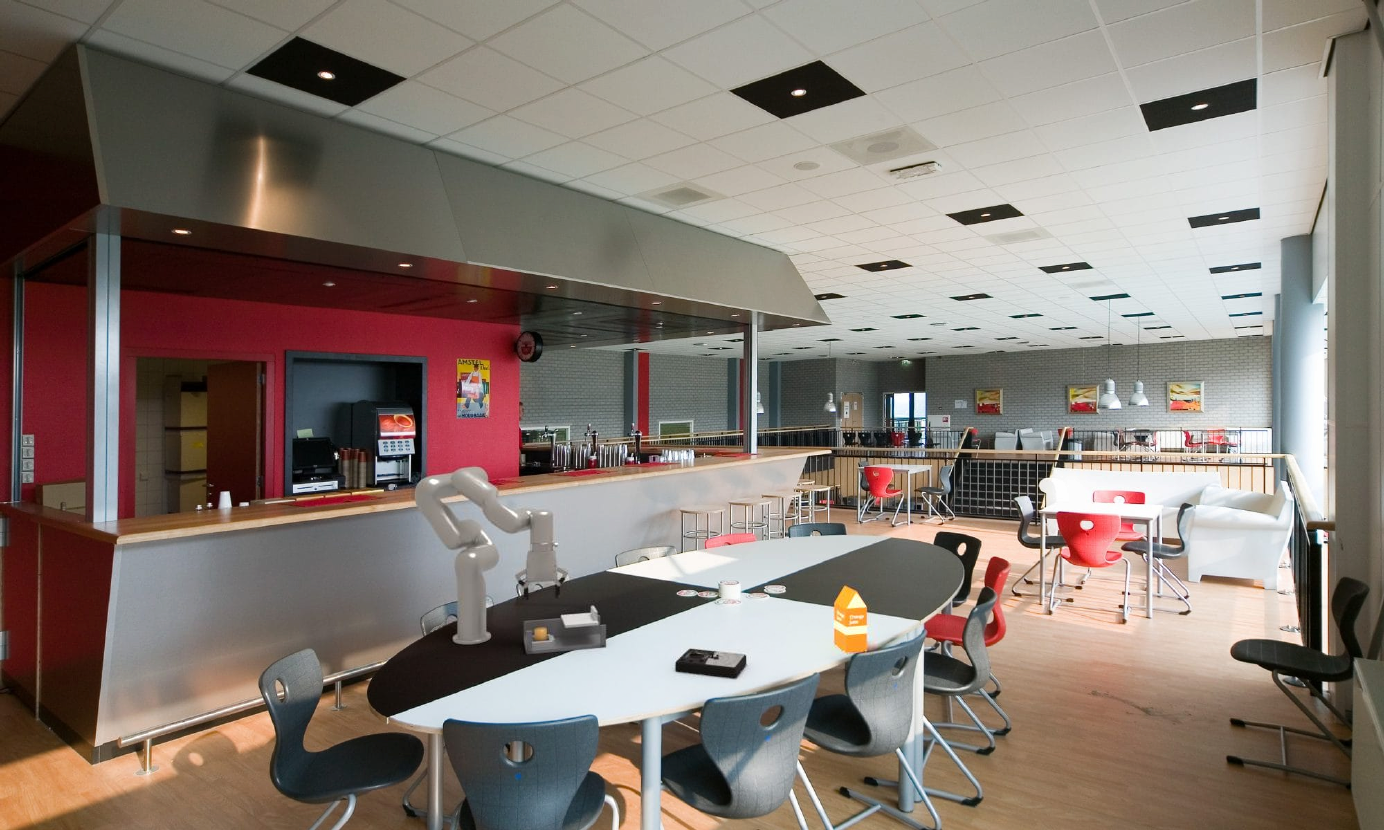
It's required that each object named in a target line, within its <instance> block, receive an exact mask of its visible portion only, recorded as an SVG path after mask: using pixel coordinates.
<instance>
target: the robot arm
mask: <svg viewBox="0 0 1384 830" xmlns="http://www.w3.org/2000/svg"><path fill="white" fill-rule="evenodd" d="M456 496H464V497H465V498H466V499H468V500H469V501H471V502H472V503H474V504H475V505H476V506H478V507H479V509H481V510H482V512H483V515H484V516H485V518H486V519H487V521H488V522H490V523H491V525H493V526H495V527H497V528H498V529H499V530H501V531H502V532H504V533H506V534H510V535H511V534H513V535H514V534H518V533H521V532H525V531H529V542H530V543H529V550H528V551H527V555H526V562H525V563H526V564H525V568H524V569H522V570H521V571H519V572H518V573H516V574H515V575H514V577H515V579H516V580H517V583H518V584H519V585H520V586H521V587H522V588H523V598H525V600H526V601H529V585H531V583H543V582H544V583H545V582H547V583H548V582H554V583H555V584H554V598H555V599H558V598H559V596H560V595H561V590H560V589H561V588H560V586H561V585H562V584H563V583H564V582H565V581H566V578H567V576H568V574H569V573H568V572H569V571H567V570H565V569H563V568H560V567H558V563H557V555H556V550H555V548H558V542H554V513H553V512H552V511H551V510H549V509H534V508H530V507H522V508H518V509H513V510H511V509H510V508H508V507H506V506H505V505H503V504H502V503H501V502H500V501H499V500H498V497H499V489H498V488H497V487H496V486H495V485H493V484H492V483H490V482H489V477H488V474H487V472H486V471H485V470H484V469H483V468H482V467H478V466H470V467H468V466H467V467H462V468H459V469H457V470H455V471H454V472H450V473H443V474H442V473H441V474H436V475H435V474H434V475H430V476H427V477H424V478H422V479H420V481H419V482H418V483H417V484H416V486H415V489H414V502H415V505H416V507H417V509H418V511H420V513H421V515H423V516H424V517H423V518H425V519H426V520H427V522H428V523H429V525H430V526H431V528H432V529H433V531H434V533H435V534H436V535H437V537H438V538H439V540H440V541H441V542H442V544H443V545H444V547H445V548H447V549H448V550H451V551H456V550H461V549H463V550H461V551H460V552H459V553H458V554H457V555H456V557H455V558H454V564H453V565H454V572H455V576H456V577H455V578H456V587H457V588H456V590H457V592H456V593H457V595H456V597H457V610H456V611H457V613H456V614H457V615H456V616H457V619H456V620H457V633H456V634H455V635H453V636H452V641H453V642H454V643H455V644H458V645H476V644H481V643H484V642H487V641H489V640H490V639H491V638H492V635H491V633H490V632H489V631H487V583H486V581H485V578H484V575H483V573H484V572H487V571H489V570H493V569H494V568H496V566H497V565H498V564H499V561H500V554H499V550H498V549H497V547H496V545H495V544H494V542H493V541H492V540H491V538H490V537H489V535H488V534H487V532H486V531H485V530H484V528H483V527H482V525H481V524H480V523H478V522H477V521H476V520H473V519H463V520H460V519H459V518H458V517H457V516H456V514H455V513H454V511H453V510H452V508H451V507H449V506H448V504H446V503H444V502H442V500H441V499H445V498H446V499H447V498H453V497H456ZM559 573H560V574H562V575H561V577H560V578H559V579H558V574H559ZM523 576H525V578H526V579H525V581H524V580H523V579H522V578H521V577H523Z"/></svg>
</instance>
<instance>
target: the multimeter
mask: <svg viewBox="0 0 1384 830" xmlns="http://www.w3.org/2000/svg"><path fill="white" fill-rule="evenodd" d="M746 666H747V655H746V654H745V653H737V652H727V651H717V650H709V649H698V648H688V649H687V650H686V651H685V652H684V653H683V654H682V655H681V656H680V657H679V658H678V659H677V660H676V661H675V665H674V670H675V672H676V673H682V674H689V675H690V674H692V675H698V676H699V675H700V676H706V677H707V676H710V677H715V678H726V679H734V680H736V679H737V678H738V676H739V675H740V673H742V671H743V670H744V669H745V667H746Z"/></svg>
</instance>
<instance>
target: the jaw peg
mask: <svg viewBox="0 0 1384 830" xmlns="http://www.w3.org/2000/svg"><path fill="white" fill-rule="evenodd" d="M534 632H535V642H537V641H547V628H545V627H539V628H535V629H534Z"/></svg>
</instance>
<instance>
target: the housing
mask: <svg viewBox="0 0 1384 830" xmlns="http://www.w3.org/2000/svg"><path fill="white" fill-rule="evenodd" d="M597 621H598V623H599V625H593V626H581V627H569V628H565V626H564V623H563V621H562V619H561V617H560V618H548V619H536V620H535V619H534V620H523V644H524V649H525V654H526V655H533V654H546V653H555V652H565V651H578V650H588V649H589V650H590V649H601V648H607V624H601V615H599V614H597ZM539 627H545V628H547V641H537V642H535V632H534V629H535V628H539Z"/></svg>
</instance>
